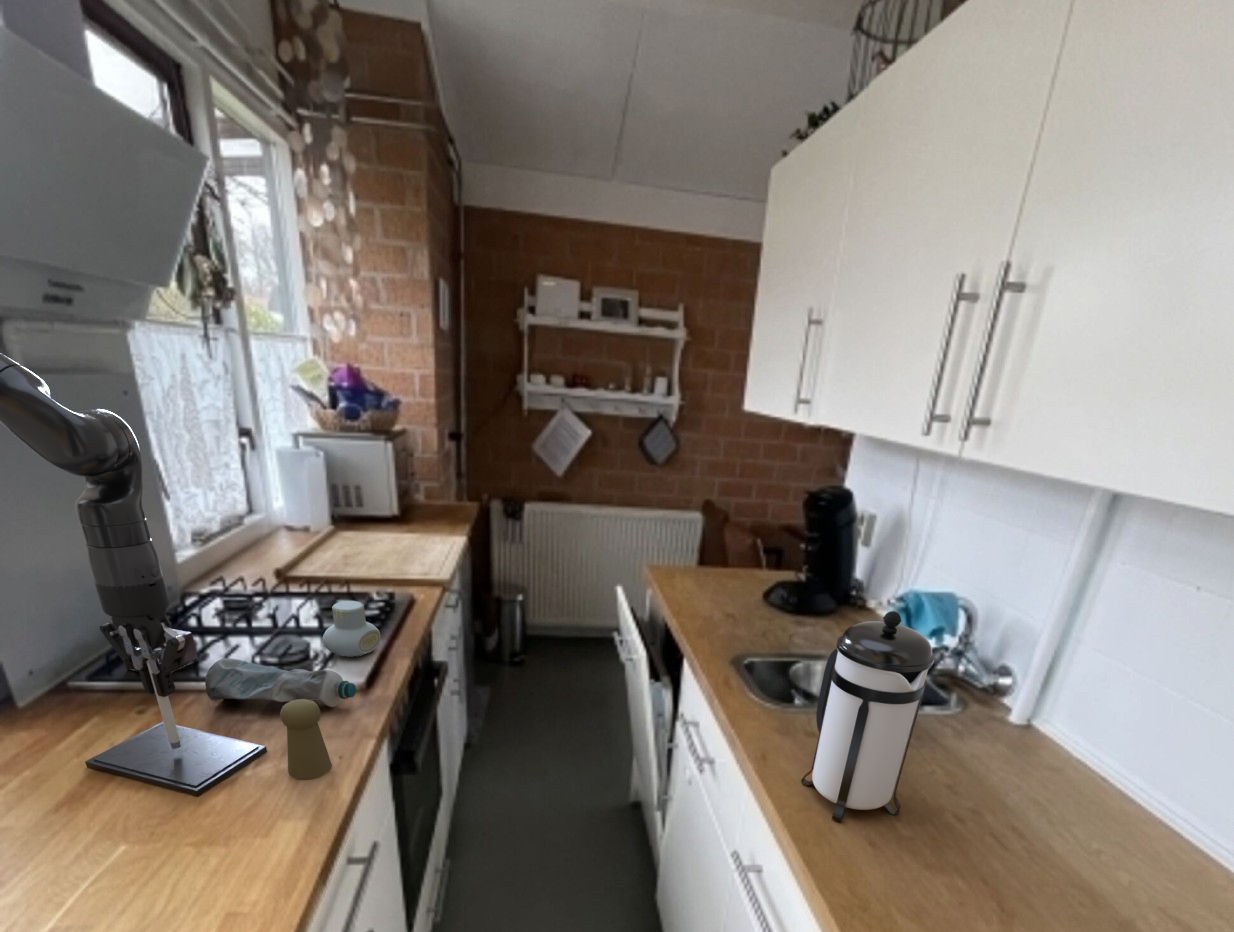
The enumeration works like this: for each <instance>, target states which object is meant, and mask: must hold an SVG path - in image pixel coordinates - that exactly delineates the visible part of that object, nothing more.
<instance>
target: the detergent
mask: <svg viewBox="0 0 1234 932" xmlns="http://www.w3.org/2000/svg"><path fill="white" fill-rule="evenodd" d="M204 685H205V691H206V694H207V697H208V698H209V700H211V701H219V700H225V699H228V700H229V699H230V700H245V701H246V700H269V701H274V702H279V703H285V702H286V703H288V702H290V701H293V700H298V699H307V700H311V701H315V700H317V701H319V702H321V703H323V704H324V705H325V706H326V707H329V708H335V707H336V706H337V705H338V704H339V702H340V700H341V699H343V700H346V699H349V698H353V697H355V696H356V693H357V688H356V684H355V683H354V682H350V681H349V680H344V679H343V677H342V676H341V675H340V673H338V672H336V671H334V670H330V669H320V670H315V671H314V670H313V671H311V670H306V669H300V668H293V669H291V670H285V669H281V668H276V667H271V666H267V665H262V664H257V663H255V662H249V661H245V660H242V659H236V658H230V657H229V658H227V657H226V658H222V659H219V660H216V661H215V662H214V663H213V664H212V665H211V666H210V668H209V669H208V670H207V672H206V674H205V679H204Z"/></svg>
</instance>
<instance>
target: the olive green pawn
mask: <svg viewBox="0 0 1234 932" xmlns="http://www.w3.org/2000/svg"><path fill="white" fill-rule="evenodd" d="M279 715H280V716H279V717H280V720H281V722H282V724H283V725H284V726H285V727H286V748H287V749H286V750H287V773H288V776H289V777H291V778H293V779H295V780H302V781H304V780H305V781H306V780H307V781H308V780H313V779H317V778H320V777H323V776H324V775H326V774H327V773H329V772H330V771H331V770H332V767H333V764H332V761H331V758H330V755H329V752H328V749H327V745H326V743H325V740H324V737H323V734H322V731H321V728H320V725H319V722H320V719H321V710H320V707H319V705H318V704H317V703H316V702H315V700H307V699H298V700H293V701H290V702H286V703H285V704H284V705H282V707H281V709H280V714H279Z"/></svg>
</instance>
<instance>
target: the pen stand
mask: <svg viewBox="0 0 1234 932" xmlns="http://www.w3.org/2000/svg"><path fill="white" fill-rule="evenodd" d="M171 629H172V630H174V631H175V632H176V633H178V634H179V635H182V634H187V635H188V636H189V638H190V641H189V644H188V648H187V651H186V654H185V657H184V660H183V664H182V666H179V667H176V668H174V669H172V670H171V671H173V670H175V669H178V668H180V667H183V666H184V665H187V664H188V663H189V662H191V661H192V660H195V659H198V660H199V657H198V656H199V655H198V653H197V648H196V647H197V646H196V643H195V640H194V639H195V638H194V636H193V633H192V632H191V631H186V630H182V629H176V628H171ZM123 647H124V649H125V650H126V648H125V646H123ZM158 661H159V663H161V661H162V658H161V656H160V657H158ZM124 665H125V669H126V670H127V669H135V668H134V665H133V664H131V663H129V664H126V663H124ZM135 670H136V669H135Z"/></svg>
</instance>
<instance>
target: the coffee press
mask: <svg viewBox="0 0 1234 932" xmlns="http://www.w3.org/2000/svg"><path fill="white" fill-rule="evenodd" d="M882 620H883V621H879V620H870V621H869V620H868V621H862V622H858V623H855V624H852V625H850V626H849V627H848V628H846V630H844V632H843V633H842V634H841V635H839V637H838V638H837V640H836V648H835V649H833V650H832V652H831V653H830V654H829V656H828V657H827V661H826V664H825V667H824V670H823V671H824V672H823V676H822V681H821V685H820V689H819V695H818V700H817V705H816V716H815V717H816V718H815V719H816V727H817V731H818V737H817V742H816V745H815V746H816V747H815V751H814V757H813V761H812V765H811V769H810V770H808V772H806V773H805V774H804V775H803V776H802V778H801V781H800V783H801V784H802V785H803V786H805V787H809V786H812V785H813V786H814V787H815V790H816V791H817V792H818V793H819V794H820V795H821V796H822V797H823V798H825V799H826V800H828V801H830V802H831V803H833V804H835V806H834V809H833V811H832V815H831V819H832V820H834V821H837V822H840V823H841V822H842V821H843V819H844V816H845V813H846V811H847V809H852V810H861V811H862V810H863V811H868V810H875V809H878V808H882V807H884V808H885V809H886V811H887V812H888V813H889V814H890V815H892V816H897V815H899V813H900V811H901V808H902V807H901V803H900V802H899V800H898V798H897V791H898V786H899V783H900V780H901V776H902V772H903V768H904V764H905V762H906V758H907V754H908V750H909V746H910V743H911V739H912V736H913V732H914V729H915V725H916V722H917V719H918V715H919V711H920V708H921V704H922V700H923V697H924V692H925V690H926V686H927V679H926V678H927V675H928V672H929V669H930V668H931V667H932V666H933V664H934V662H935V660H936V659H935V657H936V656H935V654H934V652H933V649H932V645H931V643H930V642H929V639H927V637H925V636H924V635H923V634H922V633H920V632H919V631H917V630H915V629H913V628H910V627H909V626H905V625H902V624H901V623H902V617H901V614H900V613H899V612H897V611H895V610H891V611H887V612H886V613H885V614H884V616H883V617H882ZM811 773H812V776H811V780H810V781H809V780H807V779H806V777H808V776H809V775H810V774H811ZM892 799H893V804H894V806H895V808H896V809H893V808H892V806H891V805H890V804H889V802H890V801H891V800H892Z"/></svg>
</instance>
